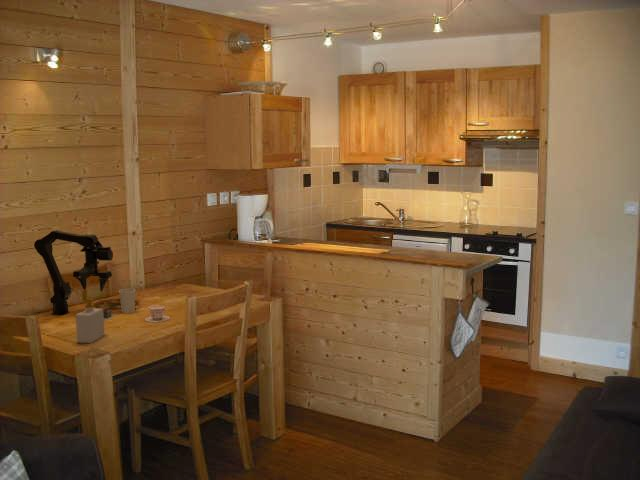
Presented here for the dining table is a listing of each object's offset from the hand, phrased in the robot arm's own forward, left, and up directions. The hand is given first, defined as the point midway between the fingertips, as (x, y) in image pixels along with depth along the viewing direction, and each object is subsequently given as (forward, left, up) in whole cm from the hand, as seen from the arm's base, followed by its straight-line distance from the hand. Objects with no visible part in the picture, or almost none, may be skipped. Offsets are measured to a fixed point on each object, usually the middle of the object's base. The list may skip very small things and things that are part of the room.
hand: (93, 291), depth 349 cm
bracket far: (+8, -7, -11) cm, 15 cm away
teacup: (+35, -2, -12) cm, 37 cm away
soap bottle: (+22, -39, -12) cm, 46 cm away
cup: (+16, +5, -12) cm, 21 cm away
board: (+8, -11, -12) cm, 18 cm away
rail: (+8, -11, -10) cm, 17 cm away
